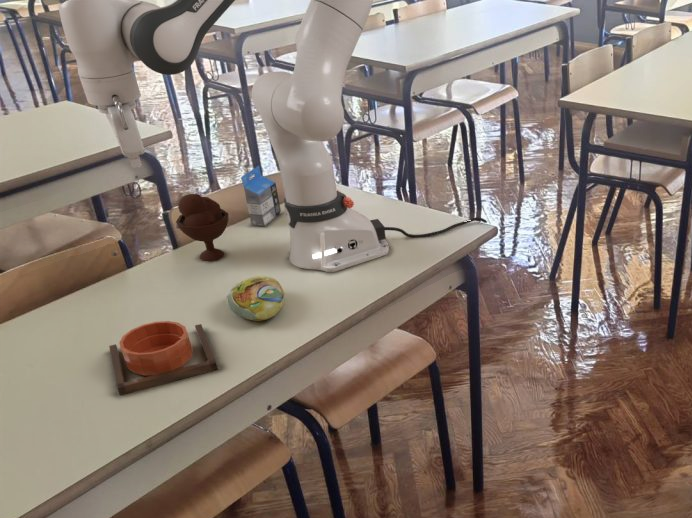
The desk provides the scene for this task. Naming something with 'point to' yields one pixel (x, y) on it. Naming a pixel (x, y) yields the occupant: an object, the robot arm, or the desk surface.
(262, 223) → the blue and grey box
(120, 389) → the frame
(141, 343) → the bowl
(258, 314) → the cell model
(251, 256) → the desk surface
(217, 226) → the ice cream bowl
